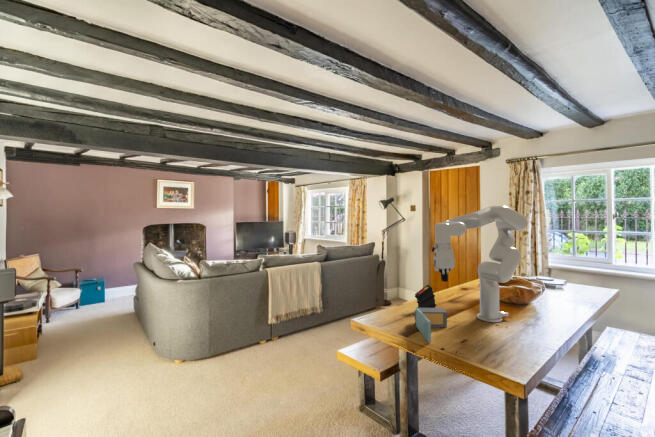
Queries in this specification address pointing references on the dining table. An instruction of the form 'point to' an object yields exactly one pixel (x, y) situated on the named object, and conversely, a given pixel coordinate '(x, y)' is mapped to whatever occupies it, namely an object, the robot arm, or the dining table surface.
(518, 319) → the dining table surface
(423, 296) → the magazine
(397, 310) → the dining table surface
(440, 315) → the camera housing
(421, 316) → the side door
